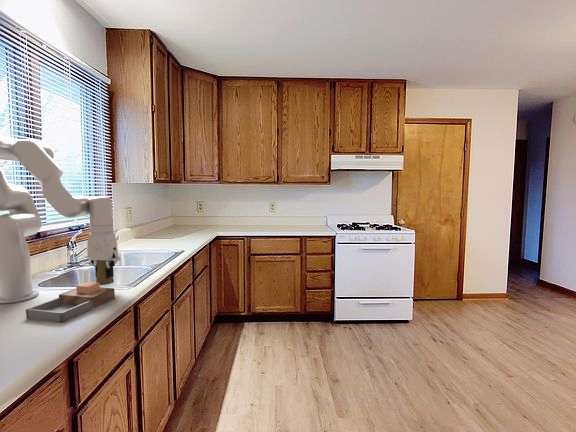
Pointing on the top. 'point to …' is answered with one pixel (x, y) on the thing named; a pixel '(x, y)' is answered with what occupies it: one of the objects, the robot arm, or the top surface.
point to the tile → (87, 287)
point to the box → (57, 311)
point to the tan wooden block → (88, 297)
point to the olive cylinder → (102, 273)
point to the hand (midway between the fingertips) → (104, 276)
